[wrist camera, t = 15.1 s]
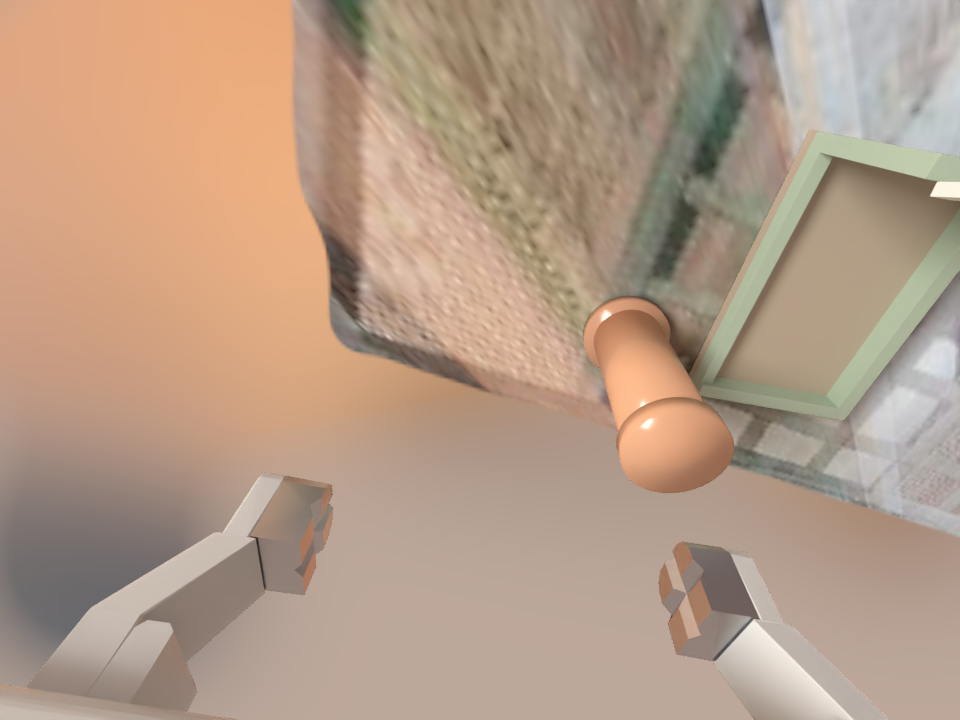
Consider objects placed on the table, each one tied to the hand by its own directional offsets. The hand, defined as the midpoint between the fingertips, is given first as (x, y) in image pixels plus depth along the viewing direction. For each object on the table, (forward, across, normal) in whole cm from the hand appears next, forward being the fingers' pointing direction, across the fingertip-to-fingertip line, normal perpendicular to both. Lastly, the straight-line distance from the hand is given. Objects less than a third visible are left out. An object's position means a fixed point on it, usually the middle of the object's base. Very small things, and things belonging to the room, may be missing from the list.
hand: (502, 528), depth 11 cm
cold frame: (+31, -27, +2) cm, 41 cm away
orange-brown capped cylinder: (+30, -12, +10) cm, 34 cm away
